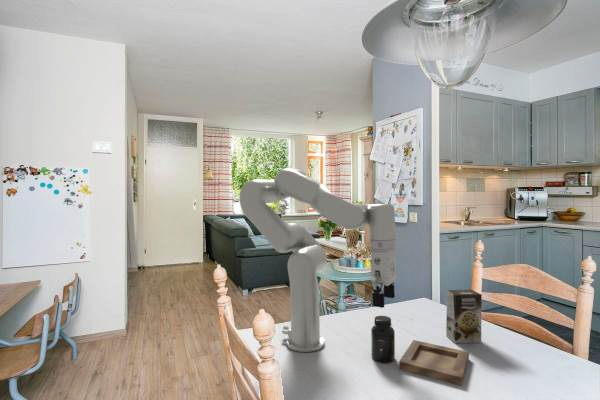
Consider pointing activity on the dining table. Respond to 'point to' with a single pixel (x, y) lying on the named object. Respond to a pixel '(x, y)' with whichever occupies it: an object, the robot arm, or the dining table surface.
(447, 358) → the wooden tray
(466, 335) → the coffee box
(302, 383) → the dining table surface
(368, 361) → the dining table surface
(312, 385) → the dining table surface
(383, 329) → the supplement bottle
